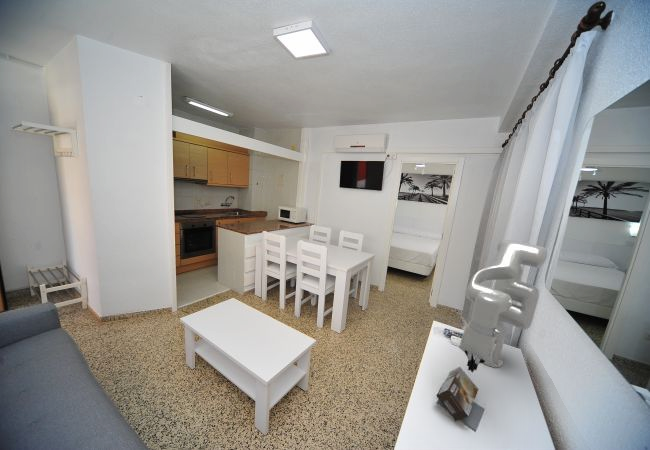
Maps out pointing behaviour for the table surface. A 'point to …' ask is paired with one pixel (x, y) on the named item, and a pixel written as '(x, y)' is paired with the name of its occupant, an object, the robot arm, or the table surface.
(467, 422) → the mat
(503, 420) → the table surface
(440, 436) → the table surface
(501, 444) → the table surface
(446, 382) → the coffee box
